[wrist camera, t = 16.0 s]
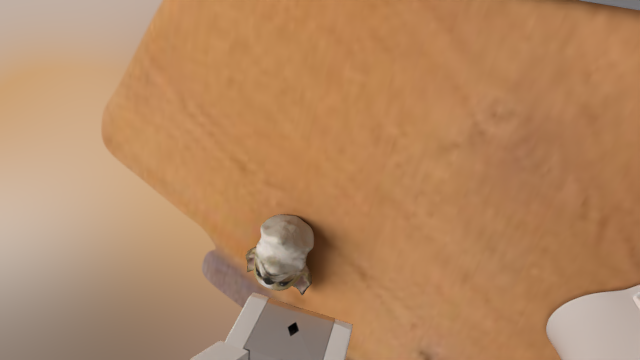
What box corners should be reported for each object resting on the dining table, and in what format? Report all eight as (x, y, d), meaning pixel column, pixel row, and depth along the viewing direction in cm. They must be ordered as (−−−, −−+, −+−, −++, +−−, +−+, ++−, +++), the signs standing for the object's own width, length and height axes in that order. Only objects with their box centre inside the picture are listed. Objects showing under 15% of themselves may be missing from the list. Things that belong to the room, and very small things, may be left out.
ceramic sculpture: (317, 268, 42) (293, 329, 52) (337, 219, 49) (312, 281, 58) (234, 233, 43) (225, 299, 53) (264, 190, 50) (251, 255, 59)
